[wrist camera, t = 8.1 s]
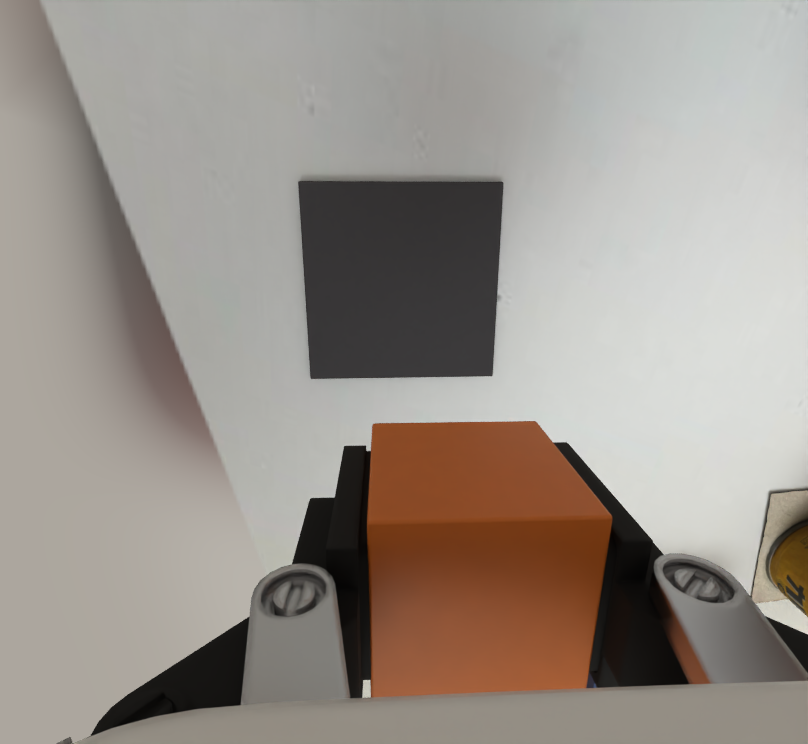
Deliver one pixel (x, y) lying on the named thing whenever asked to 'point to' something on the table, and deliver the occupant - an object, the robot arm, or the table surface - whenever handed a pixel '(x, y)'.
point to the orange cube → (480, 560)
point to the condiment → (784, 552)
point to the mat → (400, 277)
